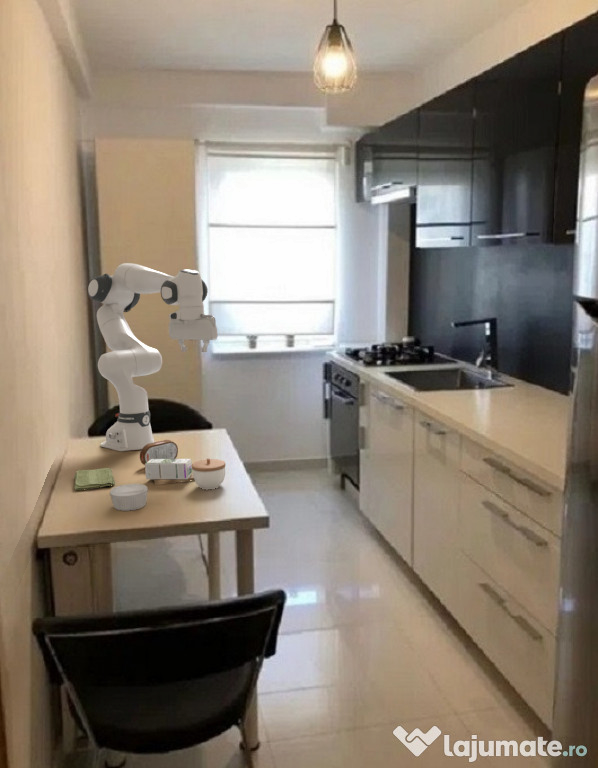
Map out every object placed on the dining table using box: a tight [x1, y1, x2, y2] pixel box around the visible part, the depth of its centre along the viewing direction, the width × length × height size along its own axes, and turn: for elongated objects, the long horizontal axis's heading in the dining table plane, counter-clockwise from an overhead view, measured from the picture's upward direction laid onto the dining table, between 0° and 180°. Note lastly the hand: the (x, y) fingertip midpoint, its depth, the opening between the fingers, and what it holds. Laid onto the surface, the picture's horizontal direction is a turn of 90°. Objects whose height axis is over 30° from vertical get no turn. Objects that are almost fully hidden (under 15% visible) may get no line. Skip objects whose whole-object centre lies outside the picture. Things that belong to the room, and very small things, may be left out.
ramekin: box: [109, 483, 149, 512], centre depth 215 cm, size 11×11×5 cm
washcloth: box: [74, 467, 116, 492], centre depth 241 cm, size 13×18×3 cm
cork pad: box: [153, 471, 194, 486], centre depth 244 cm, size 14×14×1 cm
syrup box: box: [144, 458, 193, 480], centre depth 239 cm, size 6×6×14 cm
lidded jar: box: [192, 457, 226, 491], centre depth 231 cm, size 11×11×9 cm
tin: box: [139, 439, 179, 466], centre depth 259 cm, size 15×3×8 cm, turn 134°
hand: (194, 351), depth 265 cm, fingers open, 8 cm apart
